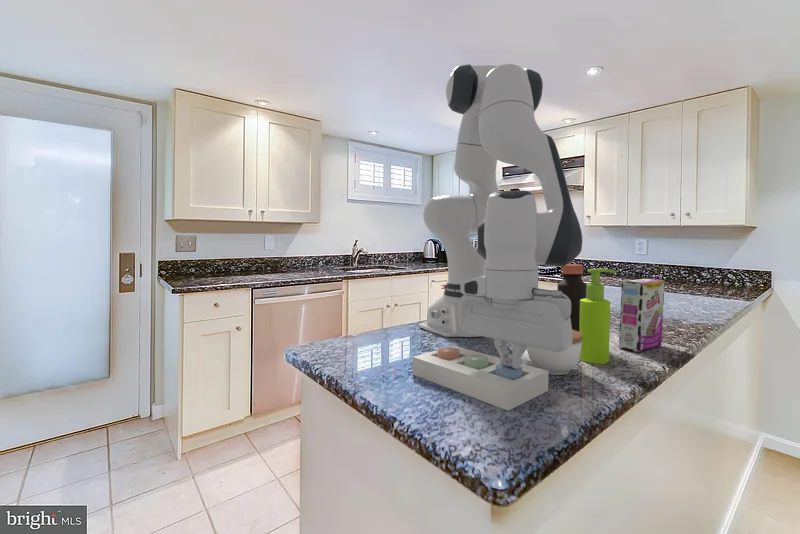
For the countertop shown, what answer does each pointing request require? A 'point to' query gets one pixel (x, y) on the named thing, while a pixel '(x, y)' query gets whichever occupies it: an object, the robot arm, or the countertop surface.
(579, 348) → the lidded jar
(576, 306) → the bottle
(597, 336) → the soap dispenser
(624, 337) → the candy bar box
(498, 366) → the button slate
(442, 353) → the button terracotta
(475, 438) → the countertop surface
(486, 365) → the button sage
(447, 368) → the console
